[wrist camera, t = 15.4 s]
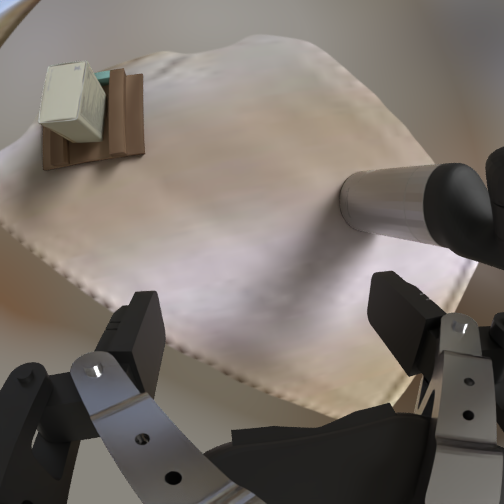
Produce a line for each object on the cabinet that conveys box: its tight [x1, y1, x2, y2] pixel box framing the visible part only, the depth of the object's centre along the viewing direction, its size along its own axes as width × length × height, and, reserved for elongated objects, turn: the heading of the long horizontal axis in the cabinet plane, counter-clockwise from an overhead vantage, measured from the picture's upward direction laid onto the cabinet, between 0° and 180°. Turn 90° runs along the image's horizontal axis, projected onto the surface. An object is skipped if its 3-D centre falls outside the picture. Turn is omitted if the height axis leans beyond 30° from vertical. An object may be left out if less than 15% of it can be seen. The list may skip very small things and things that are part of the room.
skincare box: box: [38, 61, 108, 143], centre depth 27 cm, size 6×4×12 cm
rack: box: [43, 68, 145, 170], centre depth 32 cm, size 14×11×4 cm
